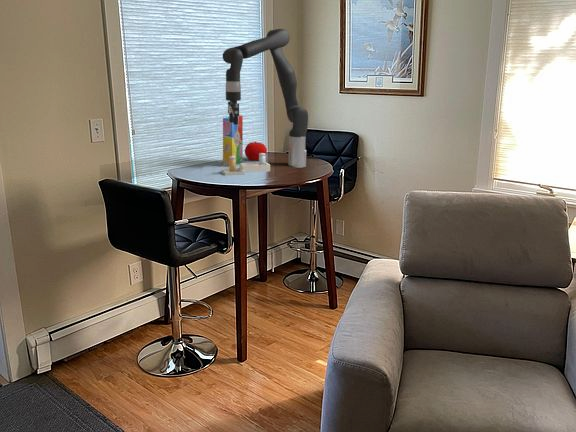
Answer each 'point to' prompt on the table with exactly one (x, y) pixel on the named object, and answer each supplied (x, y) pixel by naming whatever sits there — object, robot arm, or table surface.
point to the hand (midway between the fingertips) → (233, 123)
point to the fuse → (261, 158)
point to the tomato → (255, 150)
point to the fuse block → (255, 167)
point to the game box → (232, 140)
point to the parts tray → (225, 172)
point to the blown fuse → (232, 164)
